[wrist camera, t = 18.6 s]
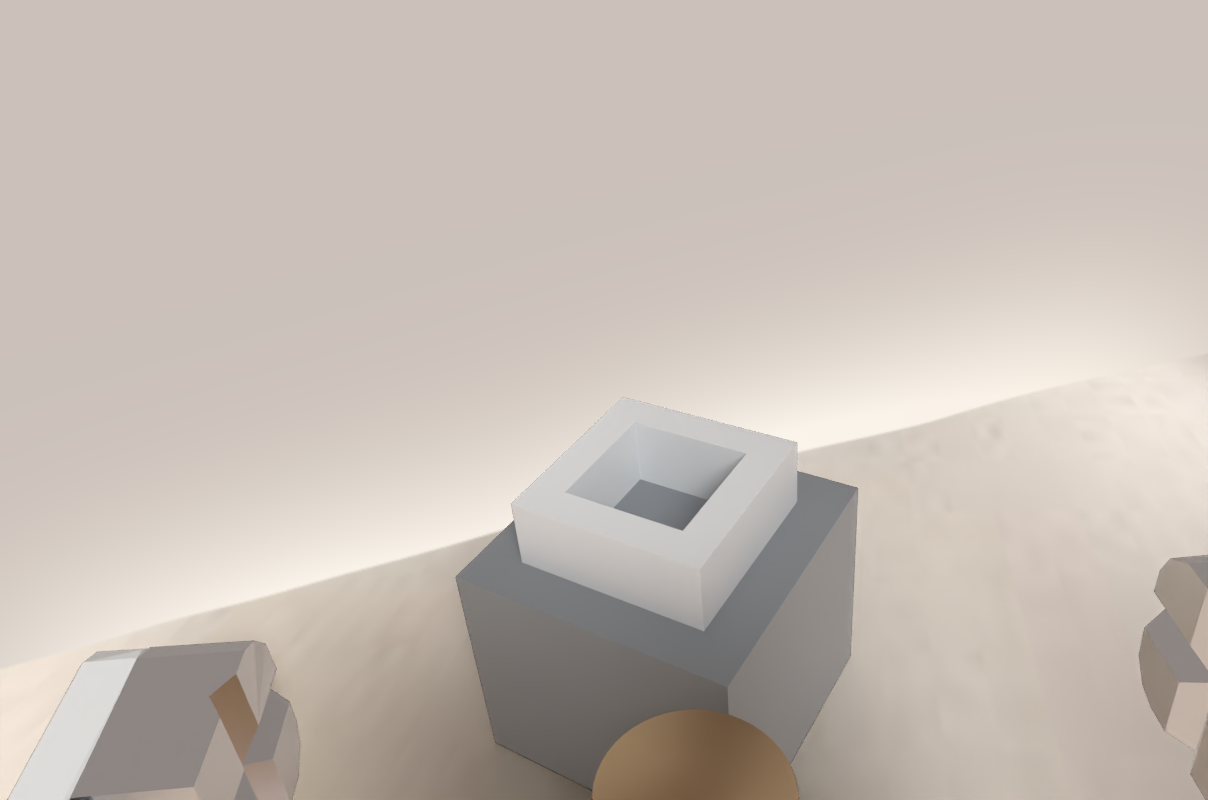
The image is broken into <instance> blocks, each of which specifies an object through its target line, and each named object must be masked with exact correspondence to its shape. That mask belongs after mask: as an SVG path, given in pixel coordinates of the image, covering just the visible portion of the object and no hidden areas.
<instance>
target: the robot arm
mask: <svg viewBox="0 0 1208 800" xmlns="http://www.w3.org/2000/svg"><path fill="white" fill-rule="evenodd" d="M1154 592H1155V594H1156V595H1157V597H1158V598H1159V600H1160V601H1161V603H1162V604H1163V606H1164V607H1165V610H1164V611H1163V612H1161V613H1160V614H1159V615H1158V616H1157V617H1156V618H1155V619H1154V620H1153V621H1151V622H1150V623H1149V624H1148V625H1147V626H1146V627H1145V628H1144V632H1143V637H1142V642H1141V647H1140V651H1139V661H1140V669H1141V677H1142V685H1143V688H1144V690H1145V693H1146V696H1147V698H1148V701H1149V704H1150V707H1151V709H1152V710H1153V712H1154V714H1155V716H1156V717H1157V719H1158V721H1159V723H1160V724H1161V726H1162V728H1163V730H1164V731H1165V732H1166V733H1168V734H1169V735H1171V736H1172V737H1174V738H1175V739H1177V740H1178V741H1180V742H1181V743H1183V744H1185V745H1186V746H1188V747H1189V748H1191V749H1192V750H1194V751H1195V756H1194V760H1193V765H1192V769H1191V774H1190V775H1191V776H1192V778H1193V780H1194V781H1195V783H1196V785H1197V786H1198V788H1199V790H1200V791H1201V793H1202V795H1203V796H1204V798H1205V799H1206V800H1208V555H1201V556H1191V557H1181V558H1171V559H1169V561H1168V562H1167V563H1166V564H1165V565H1164V566H1163V567H1162V569H1161V570H1160V572H1159V575H1158V579H1157V582H1156V586H1155V589H1154ZM276 669H277V668H276V666H275V664H274V662H273V659H272V657H271V655H270V653H269V651H268V648H267V646H266V644H265V643H261V642H258V641H241V642H225V643H209V644H194V645H178V646H163V647H150V648H149V649H134V650H117V651H101V652H96V653H95V654H93V655H92V656H91V657H90V658H88V659H87V660H86V661H84V662H83V663H82V664H81V666H80V668H79V669H78V671H77V673H76V675H75V677H74V678H73V680H72V682H71V684H70V686H69V688H68V689H67V691H66V693H65V695H64V697H63V699H62V700H61V702H60V704H59V706H58V708H57V710H56V711H55V713H54V715H53V717H52V719H51V720H50V722H49V724H48V726H47V728H46V730H45V731H44V733H43V735H42V737H41V739H40V741H39V742H38V744H37V746H36V748H35V750H34V752H33V753H32V755H31V757H30V759H29V761H28V763H27V764H26V766H25V768H24V770H23V772H22V773H21V775H20V777H19V779H18V781H17V783H16V784H15V786H14V788H13V790H12V792H11V794H10V795H9V797H8V799H7V800H293V796H294V792H295V788H296V784H297V780H298V776H299V759H300V739H299V732H298V726H297V720H296V718H295V715H294V712H293V709H292V707H291V704H290V702H289V701H288V700H286V699H285V698H283V697H282V696H280V695H279V694H277V693H276V692H274V691H273V690H271V689H270V688H271V685H272V682H273V678H274V675H275V672H276Z"/></svg>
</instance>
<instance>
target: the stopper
mask: <svg viewBox="0 0 1208 800" xmlns="http://www.w3.org/2000/svg"><path fill="white" fill-rule="evenodd" d="M592 800H799V793H798V787H797V782H796V778H795V775H794V772H793V769H792V767H791V765H790V763H789V761H788V760H787V758H786V756H785V755H784V753H783V752H782V751H781V749H780V748H779V747H778V746H777V745H776V743H775V742H774V741H773V740H772V739H771V738H770V737H768V736H767V735H766V734H765V733H764V732H762V731H761V730H759V729H758V728H756V727H755V726H753V725H752V724H750V723H748V722H746V721H744V720H742V719H739V718H737V717H734V716H731V715H728V714H724V713H720V712H716V711H708V710H681V711H675V712H670V713H665V714H662V715H659V716H655V717H653V718H651V719H648V720H646V721H644V722H642V723H640V724H639V725H637V726H635V727H633V728H632V729H631V730H629V731H628V732H627V733H625V734H624V735H623V736H622V737H621V738H620V739H619V740H617V741H616V742H615V744H614V745H613V746H612V747H611V748H610V750H609V751H608V752H607V754H606V755H605V757H604V759H603V760H602V762H601V764H600V766H599V769H598V771H597V773H596V777H595V780H594V784H593V792H592Z"/></svg>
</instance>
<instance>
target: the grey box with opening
mask: <svg viewBox="0 0 1208 800" xmlns="http://www.w3.org/2000/svg"><path fill="white" fill-rule="evenodd" d="M857 503H858V488H857V487H853V486H849V485H846V484H842V483H838V482H835V481H831V480H828V479H824V478H820V477H817V476H813V475H810V474H806V473H802V472H799V471H797V442H793V441H789V440H786V439H782V438H778V437H774V436H770V435H767V434H763V433H759V432H755V431H751V430H747V429H744V428H740V427H736V426H732V425H728V424H724V423H720V422H717V421H713V420H709V419H705V418H701V417H697V416H693V415H690V414H686V413H682V412H678V411H674V410H670V409H667V408H663V407H659V406H656V405H652V404H648V403H644V402H640V401H636V400H633V399H629V398H625V397H623V398H621V400H619V401H618V402H617V403H616V404H615V405H614V406H613V407H612V408H611V409H610V410H609V411H608V412H607V413H606V414H605V415H604V416H603V417H601V418H600V419H599V420H598V421H597V422H596V423H595V424H594V425H593V426H592V427H591V428H590V429H589V430H588V431H587V432H586V433H585V434H584V435H583V436H582V437H580V439H578V440H577V441H576V442H575V443H574V444H573V445H572V446H571V447H570V448H569V449H568V450H567V451H566V452H565V453H564V454H563V455H562V456H561V457H559V458H558V459H557V460H556V461H555V462H554V463H553V464H552V465H551V466H550V467H549V468H548V469H547V470H546V471H545V472H544V473H543V474H542V475H541V476H540V477H539V478H537V479H536V480H535V481H534V482H533V483H532V484H531V485H530V486H529V487H528V488H527V489H526V490H525V491H524V492H523V493H522V494H521V495H520V496H519V497H518V498H517V499H515V500H514V501H513V502H512V503H511V507H512V512H513V518H514V521H513V522H512V523H511V524H510V525H508V526H507V527H506V528H505V529H504V530H503V531H502V532H501V533H500V534H499V535H498V536H497V537H496V538H495V539H494V540H493V541H492V542H491V543H490V544H489V545H488V546H487V547H486V548H485V549H484V550H483V551H482V552H481V553H480V554H479V555H478V556H477V557H476V558H475V559H474V560H473V561H472V562H471V563H469V564H468V565H467V566H466V567H465V568H464V569H463V570H462V571H461V572H460V573H459V574H458V575H457V576H456V582H457V586H458V590H459V594H460V598H461V602H462V606H463V611H464V615H465V619H466V623H467V627H468V631H469V636H470V640H471V644H472V648H473V652H474V656H475V660H476V665H477V669H478V673H479V677H480V681H481V685H482V690H483V694H484V698H485V702H486V706H487V710H488V715H489V719H490V723H491V727H492V731H493V735H494V739H495V742H496V743H498V744H500V745H502V746H504V747H506V748H508V749H510V750H512V751H514V752H516V753H518V754H520V755H522V756H524V757H526V758H528V759H530V760H532V761H534V762H536V763H538V764H540V765H542V766H544V767H546V768H548V769H550V770H552V771H554V772H556V773H558V774H560V775H562V776H564V777H566V778H568V779H570V780H572V781H574V782H576V783H578V784H580V785H582V786H584V787H586V788H588V789H590V790H592V791H593V784H594V780H595V777H596V773H597V771H598V769H599V766H600V764H601V762H602V760H603V759H604V757H605V755H606V754H607V752H608V751H609V750H610V748H611V747H612V746H613V745H614V744H615V742H616V741H617V740H619V739H620V738H621V737H622V736H623V735H624V734H625V733H627V732H628V731H629V730H631V729H632V728H633V727H635V726H637V725H639V724H640V723H642V722H644V721H646V720H648V719H651V718H653V717H655V716H659V715H662V714H665V713H670V712H675V711H681V710H708V711H716V712H720V713H724V714H728V715H731V716H734V717H737V718H739V719H742V720H744V721H746V722H748V723H750V724H752V725H753V726H755V727H756V728H758V729H759V730H761V731H762V732H764V733H765V734H766V735H767V736H768V737H770V738H771V739H772V740H773V741H774V742H775V743H776V745H777V746H778V747H779V748H780V749H781V751H782V752H783V753H784V755H785V756H786V758H787V760H788V761H789V763H790V764H791V762H792V760H793V759H794V757H795V755H796V753H797V751H798V750H799V748H800V746H801V744H802V742H803V741H804V739H805V737H806V735H807V733H808V732H809V730H810V728H811V726H812V724H813V723H814V721H815V719H816V717H817V715H818V714H819V712H820V710H821V708H822V706H823V704H824V703H825V701H826V699H827V697H828V695H829V694H830V692H831V690H832V688H833V686H834V685H835V683H836V681H837V679H838V677H839V676H840V674H841V672H842V670H843V668H844V667H845V665H846V663H847V661H848V659H849V658H850V656H851V636H852V614H853V592H854V569H855V547H856V525H857Z"/></svg>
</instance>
